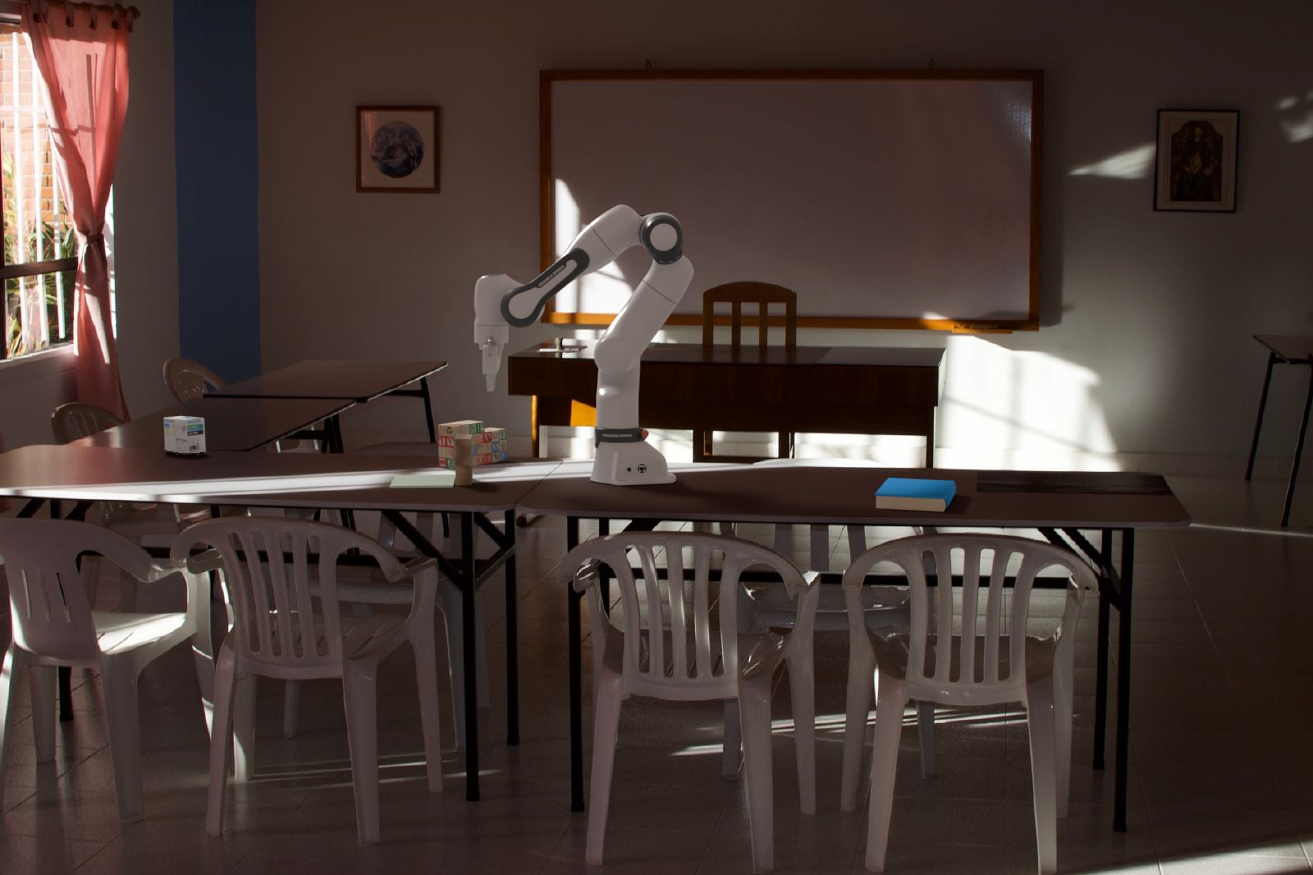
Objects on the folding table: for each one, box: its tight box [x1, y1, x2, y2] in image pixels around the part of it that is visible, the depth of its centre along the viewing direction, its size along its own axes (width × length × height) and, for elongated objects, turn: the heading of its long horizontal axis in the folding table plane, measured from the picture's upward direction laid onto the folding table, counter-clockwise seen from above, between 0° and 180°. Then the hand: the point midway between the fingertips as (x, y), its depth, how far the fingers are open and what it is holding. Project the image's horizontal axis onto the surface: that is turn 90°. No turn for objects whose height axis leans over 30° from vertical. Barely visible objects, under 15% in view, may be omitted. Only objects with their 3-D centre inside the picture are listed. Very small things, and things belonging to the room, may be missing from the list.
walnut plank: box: [455, 434, 474, 486], centre depth 381 cm, size 4×10×12 cm, turn 5°
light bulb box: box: [163, 415, 207, 453], centre depth 432 cm, size 11×7×11 cm, turn 58°
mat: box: [389, 473, 456, 489], centre depth 381 cm, size 16×18×1 cm
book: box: [874, 477, 957, 513], centre depth 355 cm, size 17×4×25 cm
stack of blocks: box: [437, 419, 508, 470], centre depth 413 cm, size 21×6×12 cm, turn 143°
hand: (491, 389), depth 380 cm, fingers open, 8 cm apart
